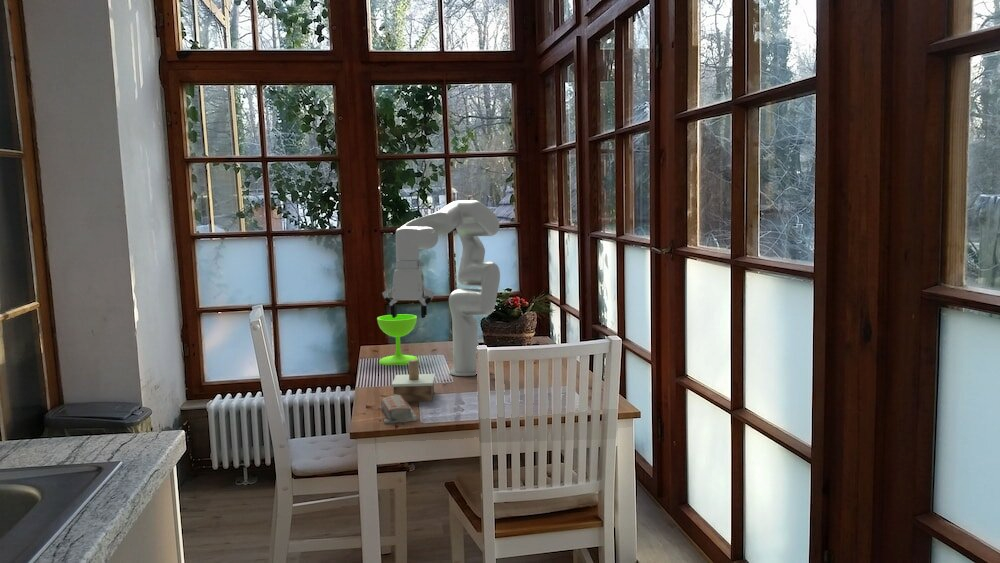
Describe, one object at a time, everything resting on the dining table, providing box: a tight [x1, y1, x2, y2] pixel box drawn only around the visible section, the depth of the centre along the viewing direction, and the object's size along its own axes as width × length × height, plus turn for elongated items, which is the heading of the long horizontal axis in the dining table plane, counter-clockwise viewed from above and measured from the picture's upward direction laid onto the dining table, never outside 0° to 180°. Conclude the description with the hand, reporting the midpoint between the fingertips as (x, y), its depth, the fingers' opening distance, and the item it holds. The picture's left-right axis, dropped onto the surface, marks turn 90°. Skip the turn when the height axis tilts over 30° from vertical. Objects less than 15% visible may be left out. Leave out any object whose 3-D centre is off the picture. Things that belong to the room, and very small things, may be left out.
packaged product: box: [376, 393, 418, 425], centre depth 235 cm, size 18×5×10 cm
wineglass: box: [376, 313, 419, 366], centre depth 310 cm, size 16×16×18 cm
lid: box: [391, 359, 436, 388], centre depth 251 cm, size 13×13×7 cm
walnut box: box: [393, 382, 435, 403], centre depth 251 cm, size 12×12×6 cm
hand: (408, 317), depth 253 cm, fingers open, 9 cm apart
